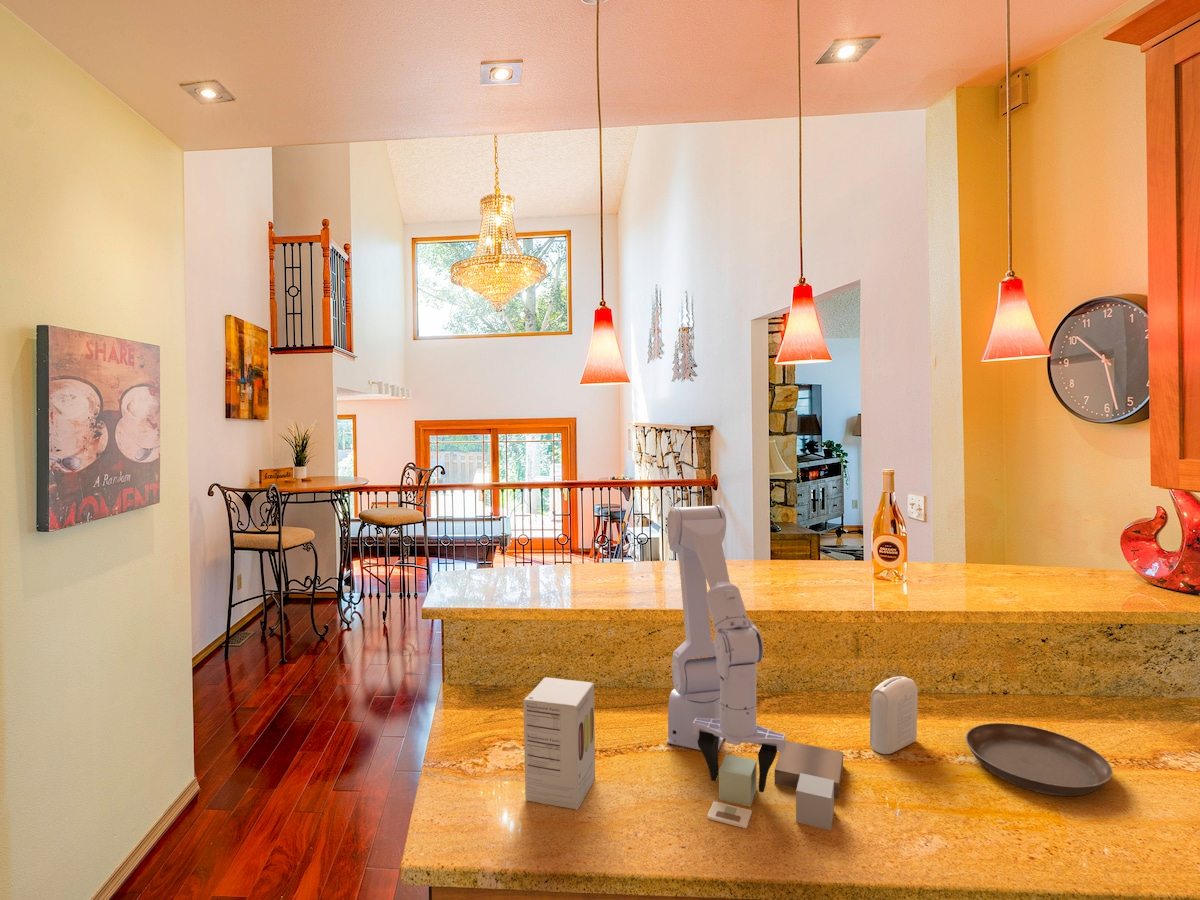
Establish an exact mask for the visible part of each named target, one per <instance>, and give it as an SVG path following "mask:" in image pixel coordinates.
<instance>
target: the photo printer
mask: <svg viewBox="0 0 1200 900" xmlns="http://www.w3.org/2000/svg"><path fill="white" fill-rule="evenodd" d="M918 691H919V690H918V686H917V683H916V682H915V681H914V680H913V679H912V678H910V677H909V678H908V677H907V676H902V675H900V676H894V677H890V678H887V679H885V680H883V681H882V682H880V683H879V684H878V685H877V686H876V687H875V688H874V689H873V690H872V692H871V695H870V713H869V714H870V715H869V716H870V717H869V718H870V720H869V745H870V747H871V748H872V750H873V751H875V752H876V753H878V754H881V755H890V754H893V753H896V752H897V751H899V750H902V749H904V748H905V747H907V746H909V745H911V744H913V743H915V742H916V740H917V737H918V736H917V735H918V734H917V733H918V696H919V695H918V694H919V692H918Z"/></svg>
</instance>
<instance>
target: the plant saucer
mask: <svg viewBox="0 0 1200 900" xmlns="http://www.w3.org/2000/svg"><path fill="white" fill-rule="evenodd" d="M965 742H966V744H967V746H968V748H969V750H970V752H971V754H973V756H974V758H975V759H976V760H977V761H978V762H979V763H980V764H981V765H983V766H984V767H985V769H987V770H988V771H989V772H991V773H992V774H994V775H995V776H997V777H998V778H1000V779H1002V780H1004V781H1007V783H1011V784H1012V785H1015V786H1017V787H1019V788H1023V789H1026V790H1030V791H1033V792H1037V793H1041V794H1045V795H1046V794H1047V795H1052V796H1060V797H1075V796H1082V795H1086V794H1090V793H1092V792H1094V791H1096V790H1098V789H1100V788H1102V787H1103V786H1104V785H1105V784H1107V783H1108V782H1109V781H1110V779H1112V776H1113V768H1112V766H1111V764H1110V763H1109V762H1108V761H1107V759H1106V758H1105V757H1104V756H1102V755H1101V754H1100V753H1098V752H1097V751H1096V750H1094V749H1093V748H1091V747H1089V746H1088V745H1086V744H1084V743H1082V742H1080V741H1077V740H1075V739H1073V738H1070V737H1068V736H1065V735H1063V734H1060V733H1057V732H1053V731H1051V730H1048V729H1043V728H1040V727H1035V726H1029V725H1023V724H1017V723H1008V722H1007V723H1006V722H1005V723H1003V722H994V723H993V722H992V723H991V722H990V723H984V724H979V725H975V726H974V727H972V728H971V729H969V730H968V731H967V733H966V734H965Z"/></svg>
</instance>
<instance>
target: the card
mask: <svg viewBox="0 0 1200 900" xmlns="http://www.w3.org/2000/svg"><path fill="white" fill-rule="evenodd" d="M752 814H753V810H751V809H747V808H743V807H739V806H735V805H733V804H732V805H731V804H728V803H724V802H718V801H715V800H713V801H712V803H711V807H710V808H709V811H708V813H707V815H706V819H707V820H712V821H716V822H718V823H719V822H720V823H723V824H728V825H731V826H733V827H734V826H735V827H739V828H742V829H748V826H749V823H750V820H751V817H752Z"/></svg>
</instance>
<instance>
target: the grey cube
mask: <svg viewBox="0 0 1200 900" xmlns="http://www.w3.org/2000/svg"><path fill="white" fill-rule="evenodd" d="M834 807H835V798H834V780H831V779H826V778H821V777H817V776H812V775H807V774H803V773H800V777H799V781H798V785H797V789H795V822H796V823H798V824H799V823H800V824H803V825H806V826H807V825H808V826H810V827H816V828H820V829H823V830H828V831H832V828H833V827H832V826H833V819H834V812H835V811H834V810H835V808H834Z"/></svg>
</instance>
